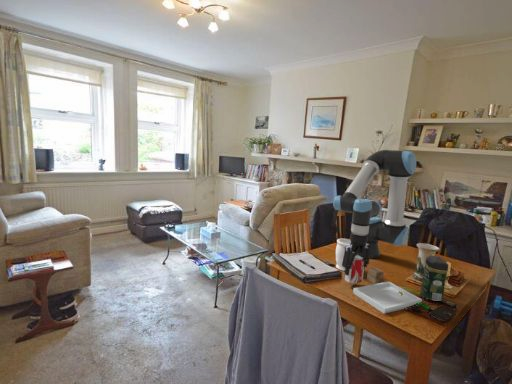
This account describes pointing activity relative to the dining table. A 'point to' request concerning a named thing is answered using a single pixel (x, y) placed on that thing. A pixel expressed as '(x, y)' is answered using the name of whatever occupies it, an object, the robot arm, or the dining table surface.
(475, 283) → the dining table surface
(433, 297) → the coffee jar
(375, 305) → the tray
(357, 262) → the soda can
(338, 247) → the jar
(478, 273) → the dining table surface
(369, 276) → the walnut block
